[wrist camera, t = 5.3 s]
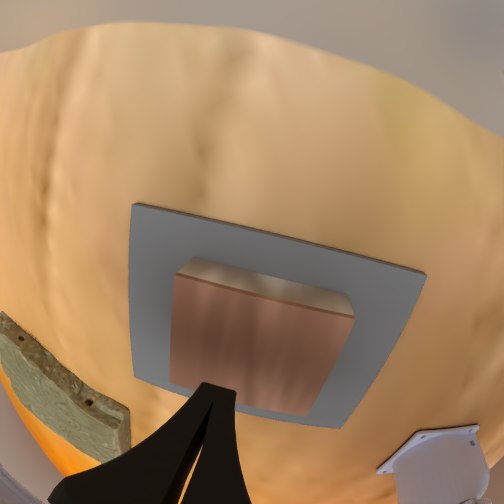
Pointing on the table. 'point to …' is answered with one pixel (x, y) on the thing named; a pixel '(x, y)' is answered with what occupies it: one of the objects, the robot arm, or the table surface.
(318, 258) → the mat
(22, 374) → the decorative tile
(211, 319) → the slab
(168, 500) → the robot arm
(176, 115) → the table surface
